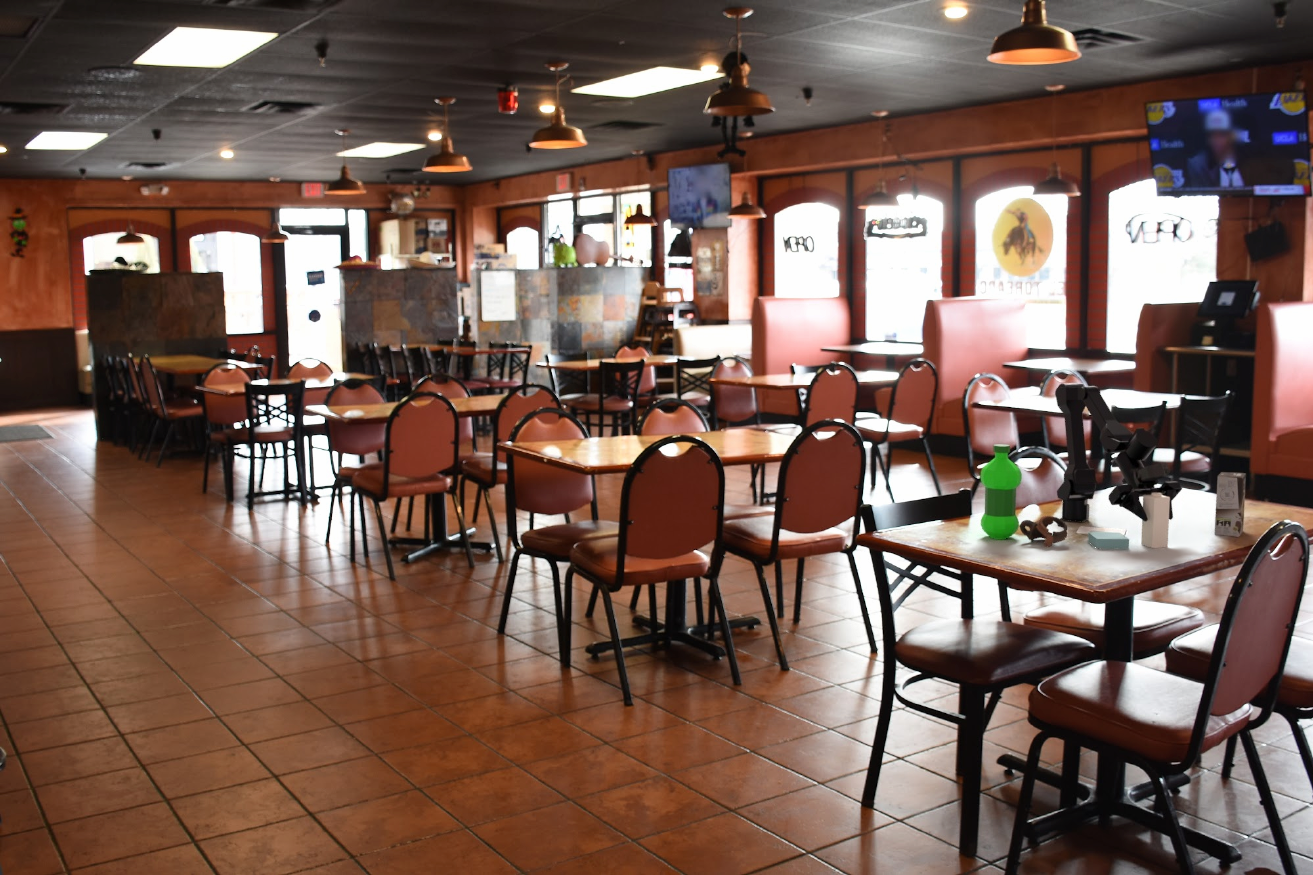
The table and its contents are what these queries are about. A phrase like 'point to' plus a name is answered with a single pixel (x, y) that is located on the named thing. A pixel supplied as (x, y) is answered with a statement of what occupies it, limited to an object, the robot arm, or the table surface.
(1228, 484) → the coffee box
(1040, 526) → the brown curved loop piece
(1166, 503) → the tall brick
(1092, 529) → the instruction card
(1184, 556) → the table surface
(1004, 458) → the plastic bottle
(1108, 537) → the base brick
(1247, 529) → the table surface
